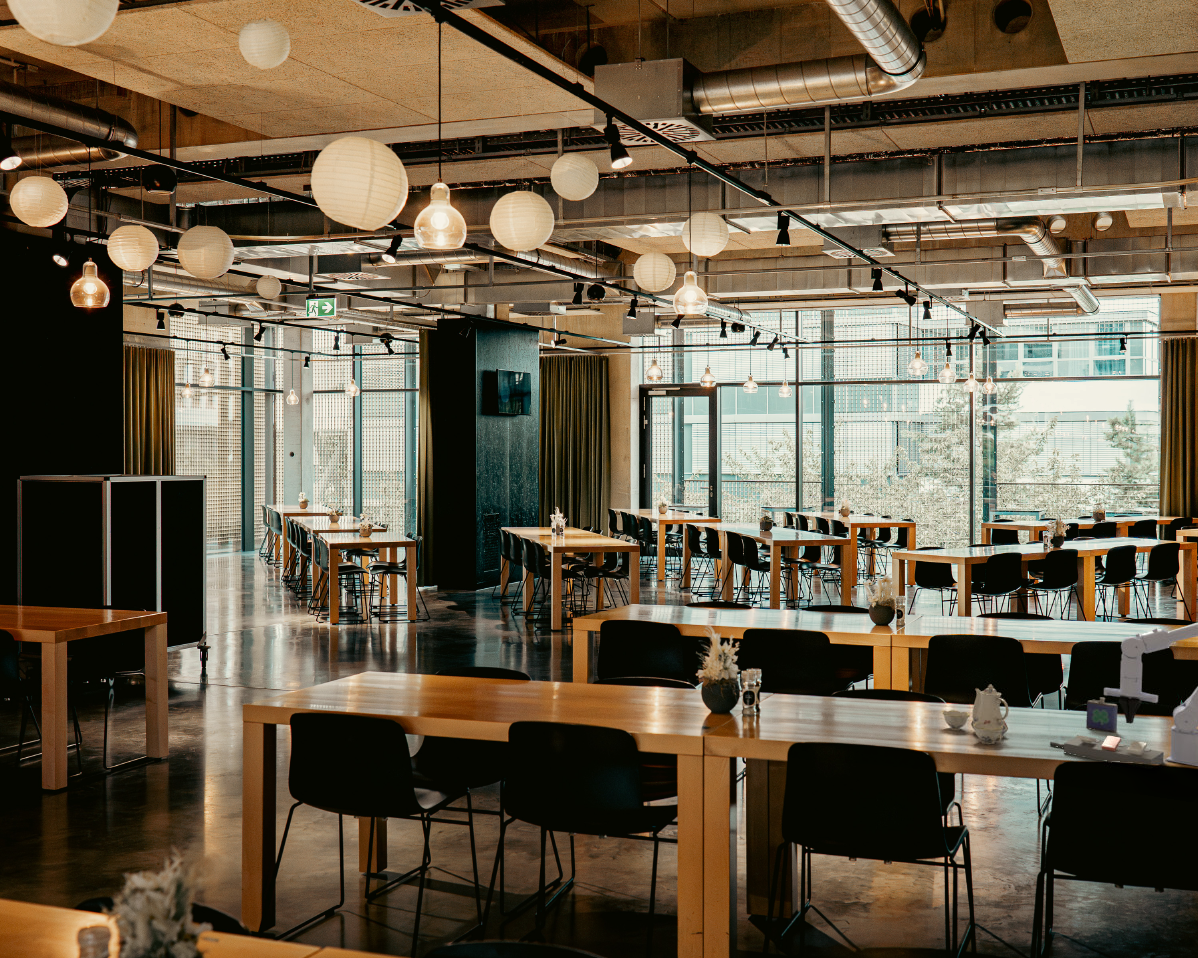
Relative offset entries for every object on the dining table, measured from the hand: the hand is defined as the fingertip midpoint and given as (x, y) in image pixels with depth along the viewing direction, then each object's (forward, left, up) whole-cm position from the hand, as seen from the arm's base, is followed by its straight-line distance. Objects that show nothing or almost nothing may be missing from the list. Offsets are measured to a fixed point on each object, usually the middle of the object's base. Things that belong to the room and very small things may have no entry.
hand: (1129, 722), depth 321 cm
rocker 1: (+9, +10, -6) cm, 15 cm away
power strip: (+5, +8, -9) cm, 13 cm away
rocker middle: (+2, +10, -6) cm, 11 cm away
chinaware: (+40, +12, -10) cm, 43 cm away
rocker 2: (-5, +10, -6) cm, 12 cm away
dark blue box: (+16, -26, -10) cm, 32 cm away
